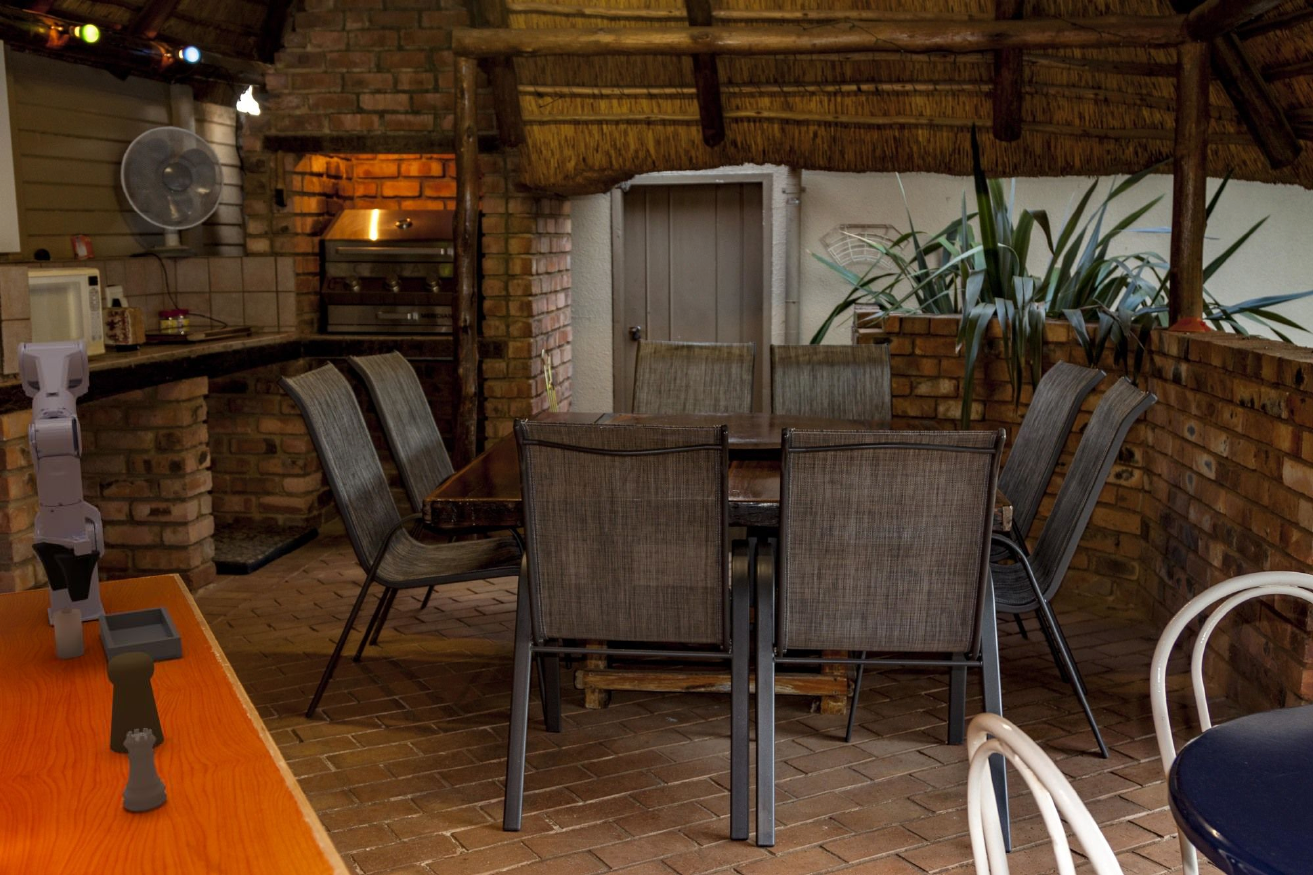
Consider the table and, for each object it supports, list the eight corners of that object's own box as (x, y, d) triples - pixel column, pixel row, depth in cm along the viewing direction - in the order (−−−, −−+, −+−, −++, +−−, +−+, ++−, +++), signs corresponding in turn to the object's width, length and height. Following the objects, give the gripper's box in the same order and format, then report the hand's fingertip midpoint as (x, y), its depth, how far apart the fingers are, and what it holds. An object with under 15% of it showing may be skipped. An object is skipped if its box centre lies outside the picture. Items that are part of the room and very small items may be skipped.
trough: (100, 634, 191) (98, 615, 191) (166, 624, 196) (165, 606, 195) (110, 668, 176) (108, 648, 175) (182, 657, 180) (180, 637, 180)
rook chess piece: (122, 816, 131) (116, 743, 130) (122, 799, 135) (116, 728, 134) (168, 808, 133) (162, 736, 131) (166, 791, 137) (160, 721, 135)
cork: (151, 753, 147) (144, 663, 145) (100, 753, 147) (92, 663, 145) (172, 732, 153) (165, 646, 151) (123, 733, 153) (115, 646, 151)
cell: (56, 652, 183) (52, 606, 182) (83, 648, 185) (79, 603, 184) (57, 660, 180) (53, 613, 179) (85, 655, 182) (80, 609, 181)
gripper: (13, 499, 180) (22, 590, 182) (49, 514, 169) (58, 611, 172) (65, 491, 184) (73, 580, 187) (102, 506, 174) (111, 600, 177)
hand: (69, 594), depth 180 cm, fingers open, 7 cm apart
